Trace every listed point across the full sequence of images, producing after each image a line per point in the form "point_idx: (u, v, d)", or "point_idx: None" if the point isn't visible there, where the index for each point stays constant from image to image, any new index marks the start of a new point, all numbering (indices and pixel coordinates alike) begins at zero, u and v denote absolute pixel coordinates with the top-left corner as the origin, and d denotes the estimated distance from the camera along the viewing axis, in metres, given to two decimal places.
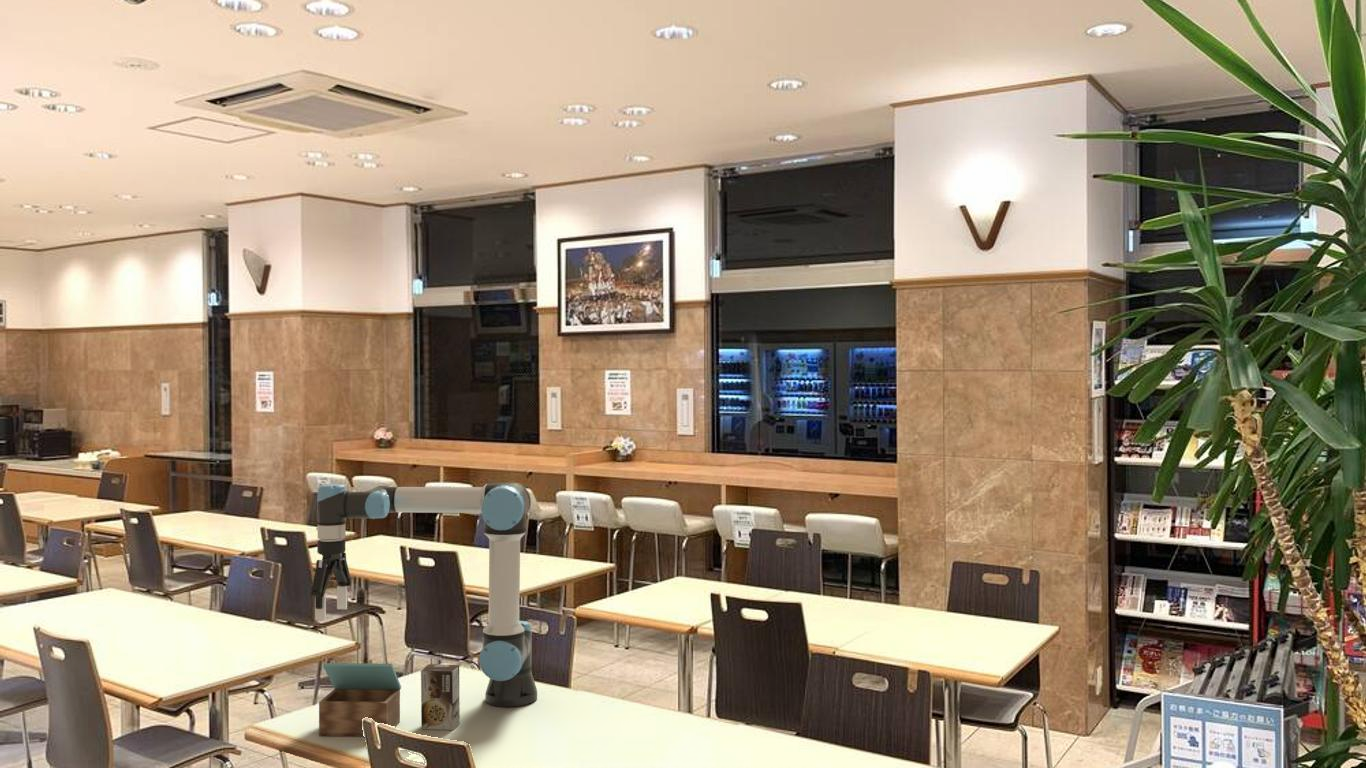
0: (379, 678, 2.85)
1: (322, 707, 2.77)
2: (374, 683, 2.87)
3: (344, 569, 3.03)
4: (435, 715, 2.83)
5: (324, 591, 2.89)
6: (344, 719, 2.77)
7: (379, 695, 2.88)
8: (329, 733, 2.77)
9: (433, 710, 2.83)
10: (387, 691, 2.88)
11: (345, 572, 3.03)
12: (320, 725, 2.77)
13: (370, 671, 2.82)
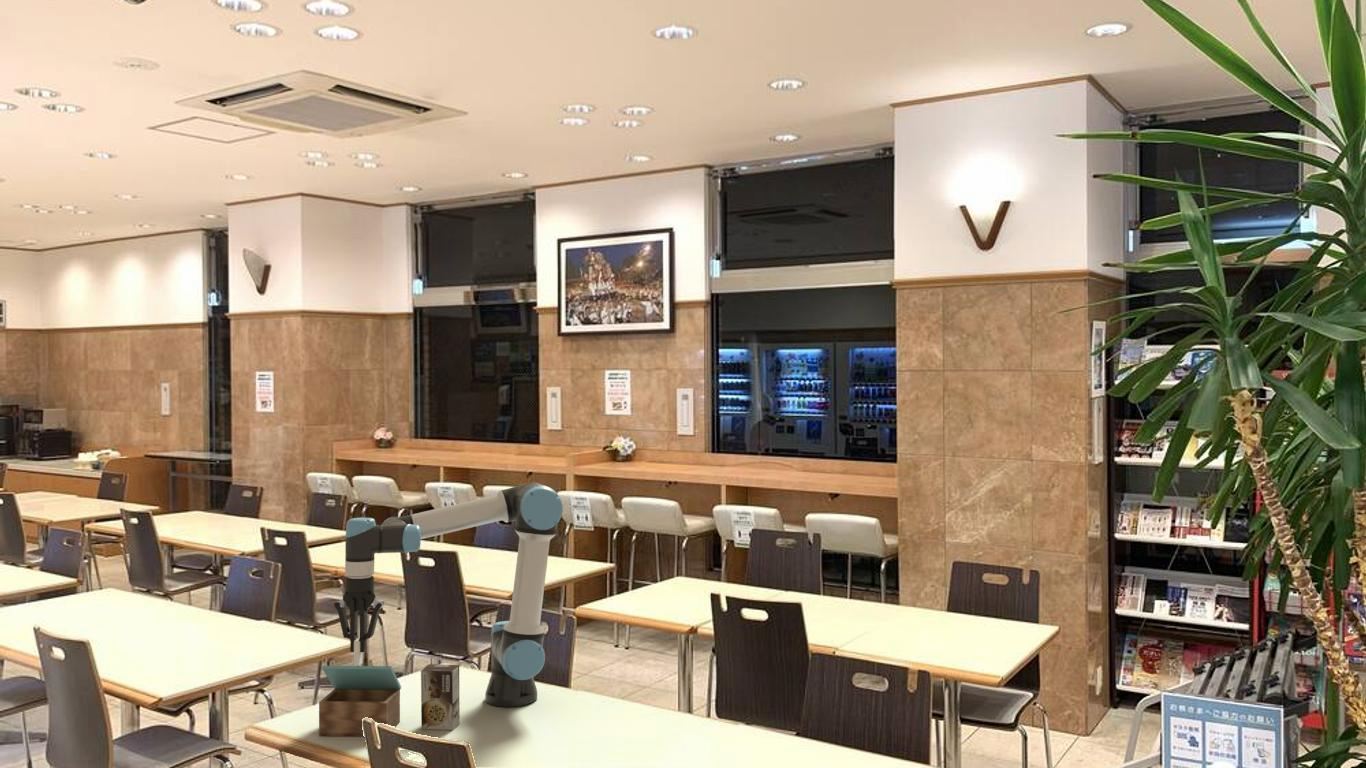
0: (379, 679, 2.84)
1: (322, 707, 2.77)
2: (373, 683, 2.86)
3: None
4: (435, 715, 2.83)
5: (352, 634, 2.80)
6: (344, 719, 2.77)
7: (379, 695, 2.88)
8: (329, 733, 2.77)
9: (433, 710, 2.83)
10: (387, 691, 2.88)
11: None
12: (320, 725, 2.77)
13: (370, 673, 2.82)
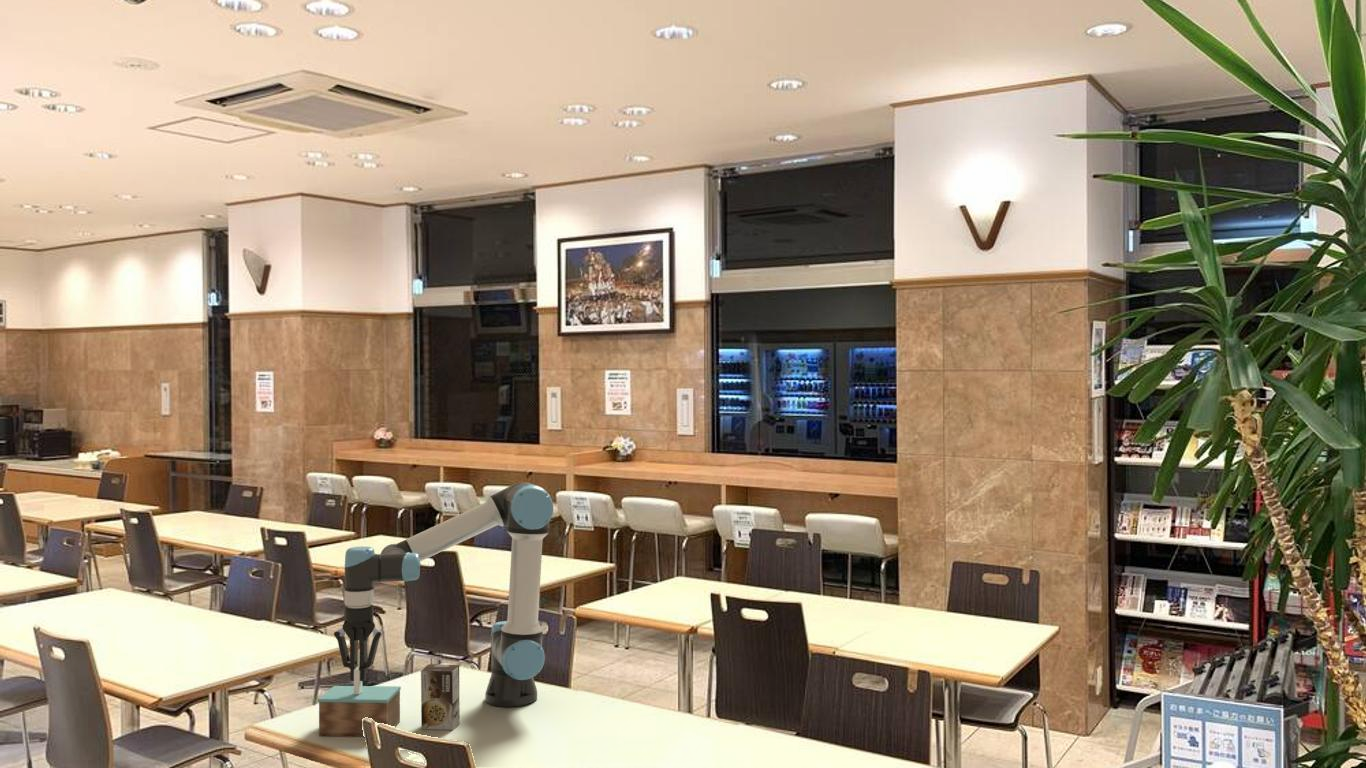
0: None
1: (322, 707, 2.77)
2: None
3: None
4: (435, 715, 2.83)
5: (352, 663, 2.81)
6: (344, 719, 2.77)
7: None
8: (329, 733, 2.77)
9: (433, 710, 2.83)
10: None
11: None
12: (320, 725, 2.77)
13: None
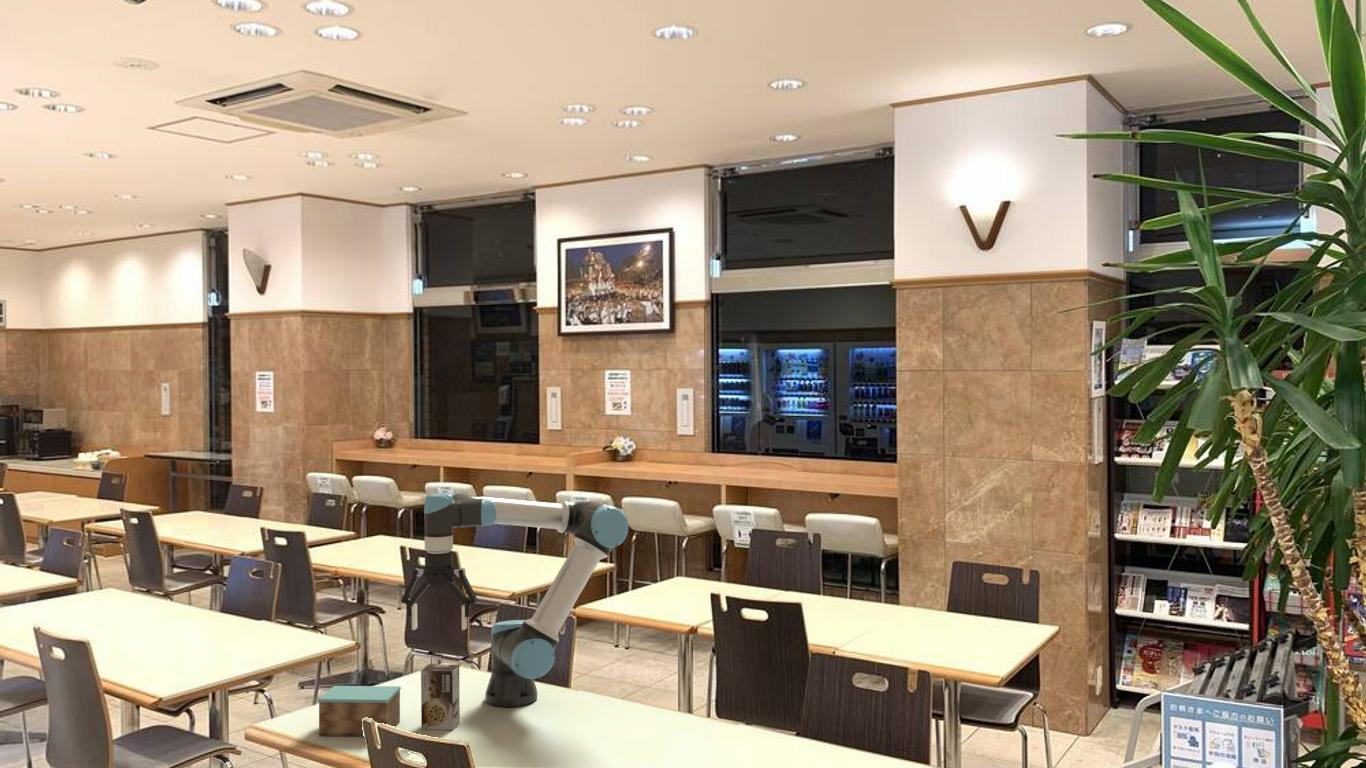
0: None
1: (322, 707, 2.77)
2: None
3: None
4: (435, 715, 2.83)
5: (412, 600, 2.84)
6: (344, 719, 2.77)
7: None
8: (329, 733, 2.77)
9: (433, 710, 2.83)
10: None
11: None
12: (320, 725, 2.77)
13: None
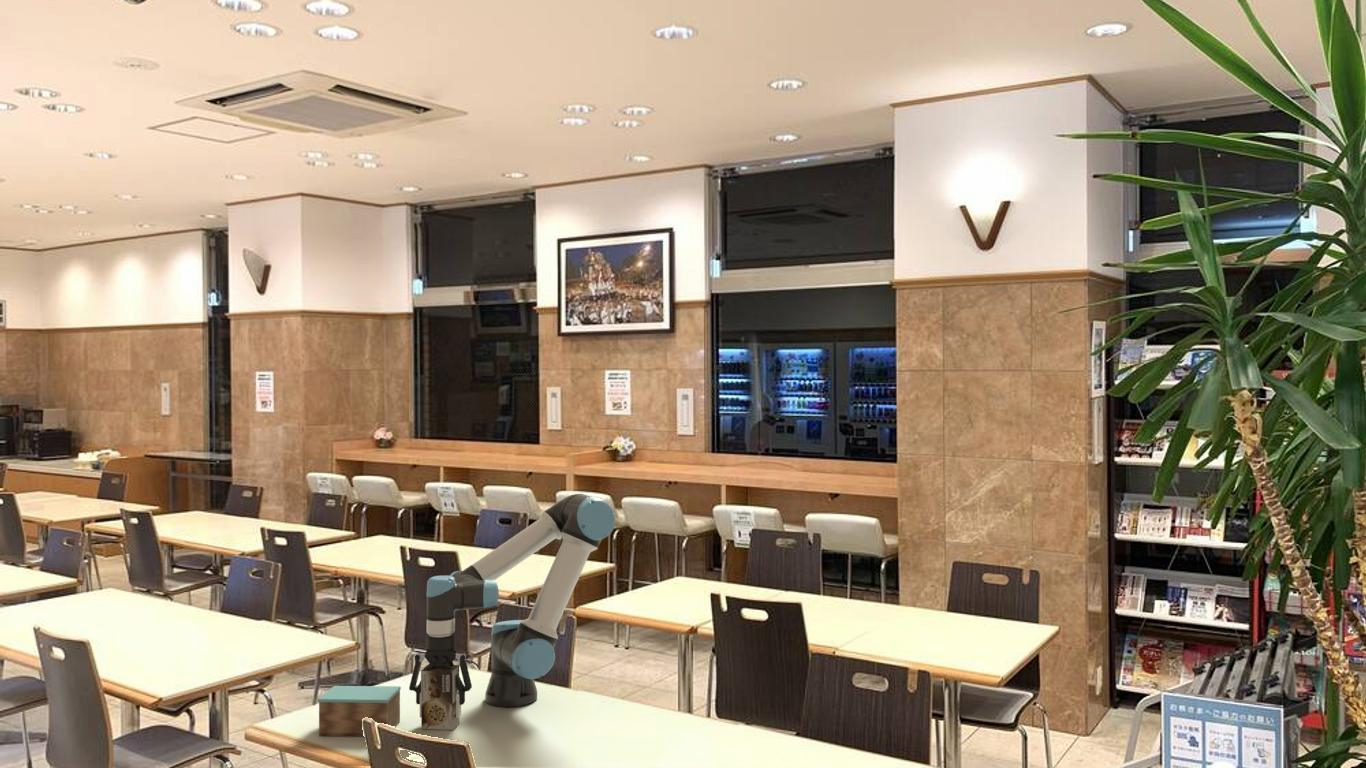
0: None
1: (322, 707, 2.77)
2: None
3: None
4: (435, 715, 2.83)
5: (420, 687, 2.85)
6: (344, 719, 2.77)
7: None
8: (329, 733, 2.77)
9: (433, 710, 2.83)
10: None
11: None
12: (320, 725, 2.77)
13: None
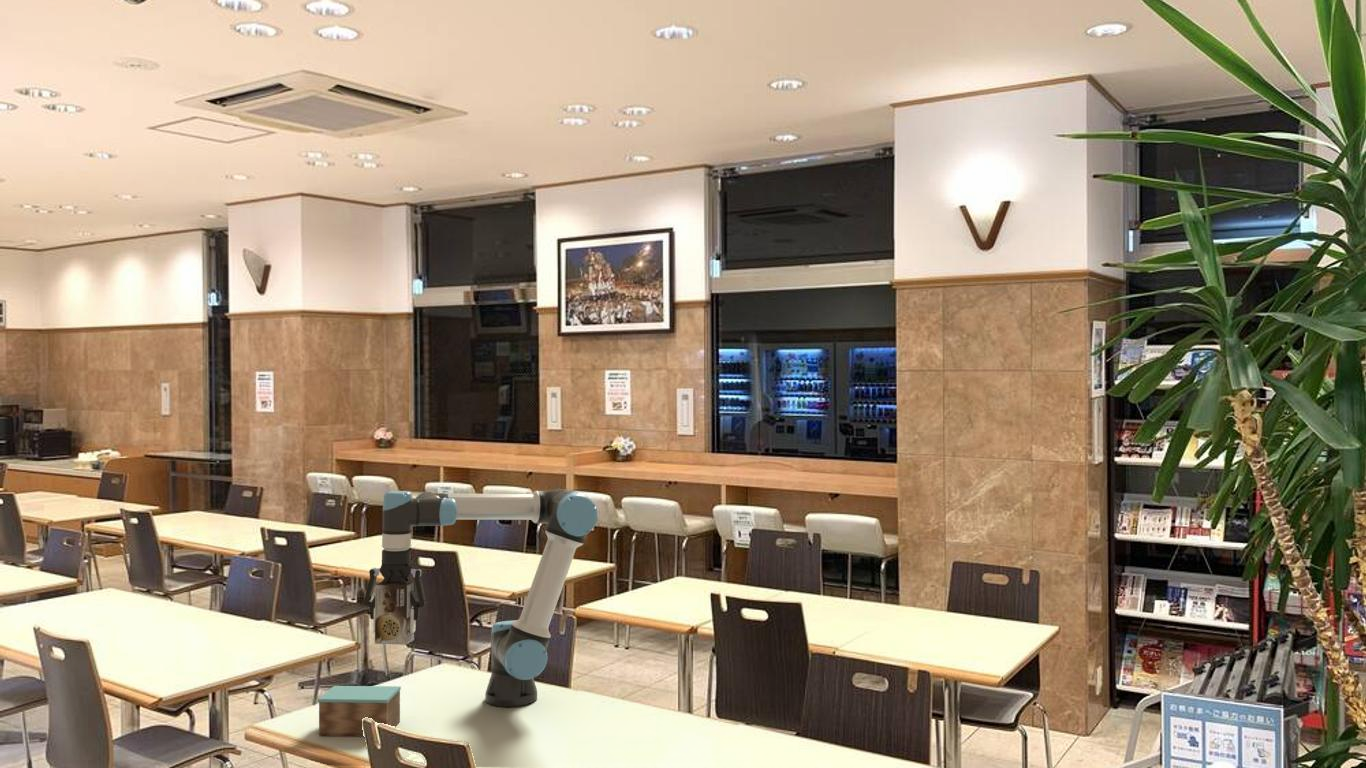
0: None
1: (322, 707, 2.77)
2: None
3: None
4: (389, 630, 2.81)
5: (374, 602, 2.83)
6: (344, 719, 2.77)
7: None
8: (329, 733, 2.77)
9: (387, 624, 2.81)
10: None
11: None
12: (320, 725, 2.77)
13: None
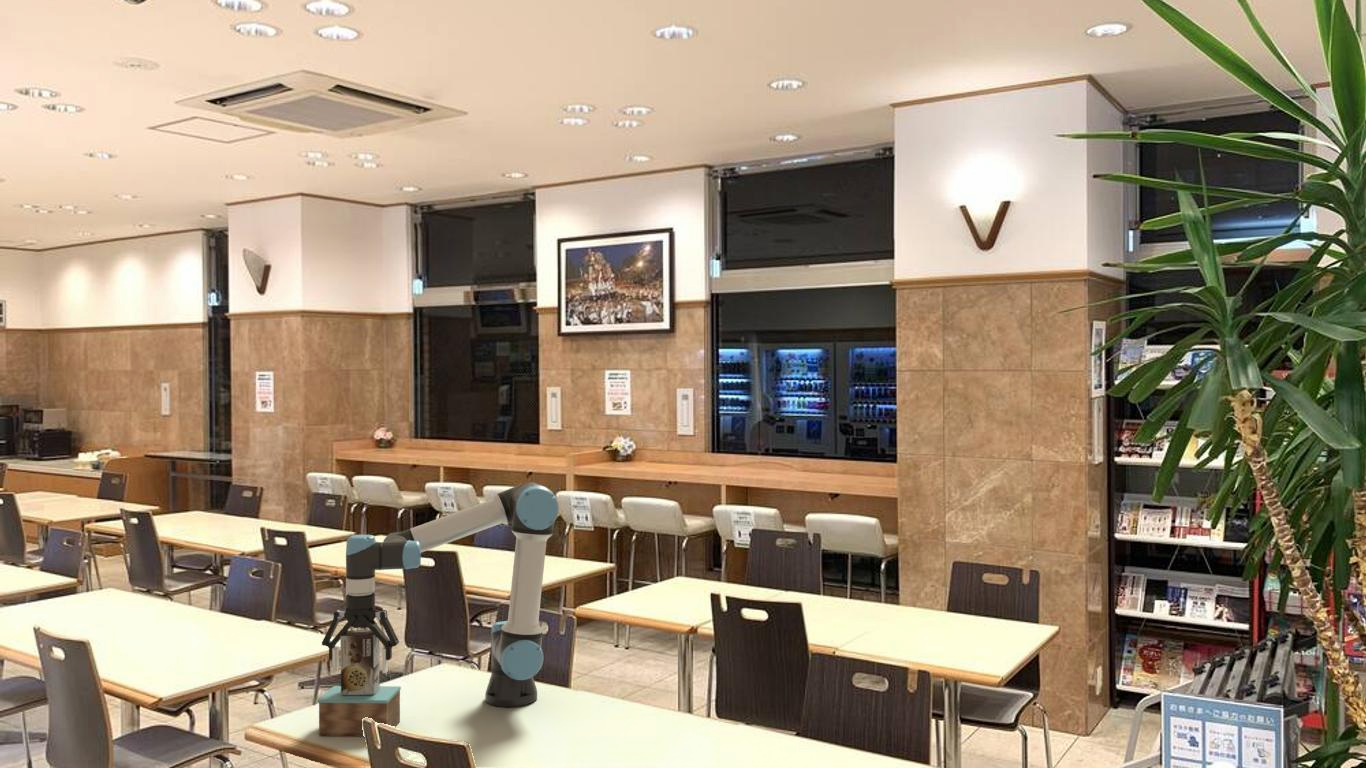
0: None
1: (322, 707, 2.77)
2: None
3: None
4: (355, 680, 2.80)
5: (333, 643, 2.82)
6: (344, 719, 2.77)
7: None
8: (329, 733, 2.77)
9: (353, 675, 2.80)
10: None
11: None
12: (320, 725, 2.77)
13: None
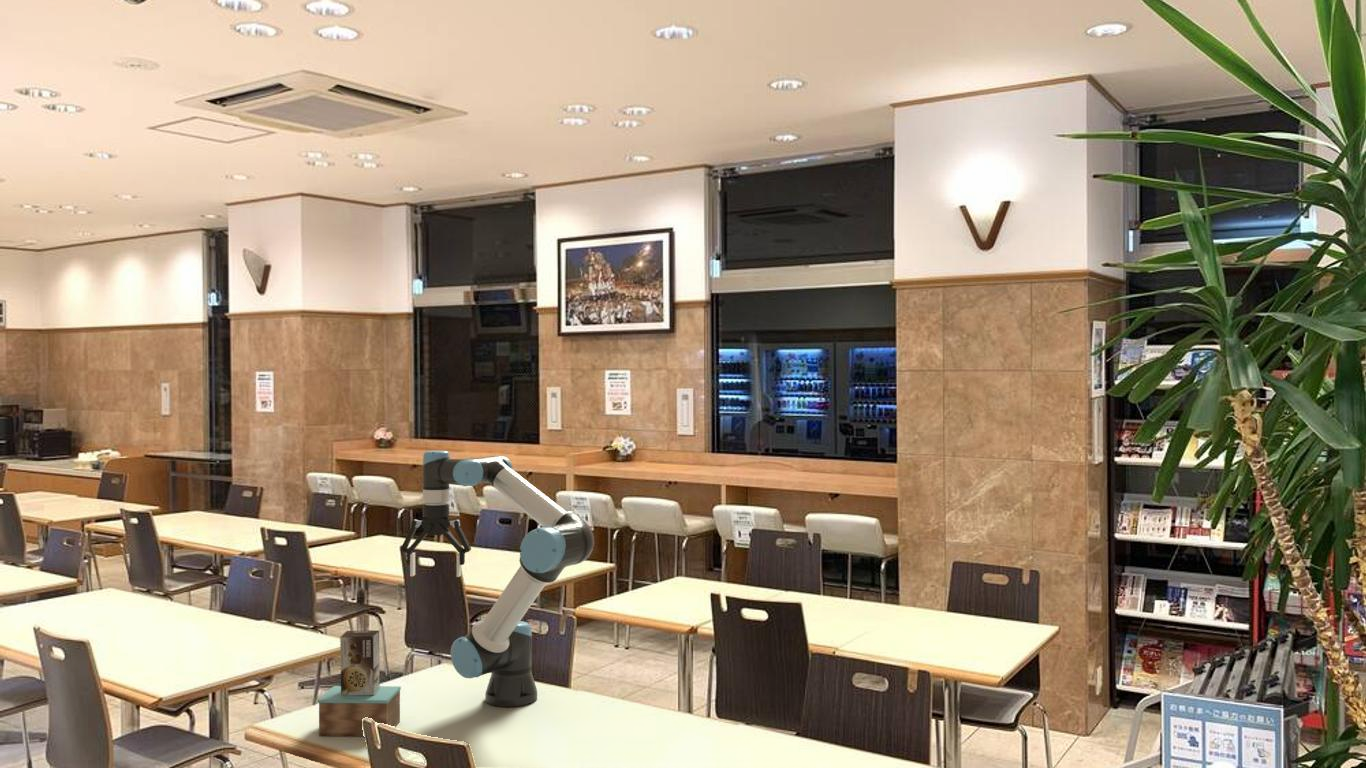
0: None
1: (322, 707, 2.77)
2: None
3: None
4: (355, 681, 2.80)
5: (411, 549, 3.06)
6: (344, 719, 2.77)
7: None
8: (329, 733, 2.77)
9: (353, 676, 2.80)
10: None
11: None
12: (320, 725, 2.77)
13: None
